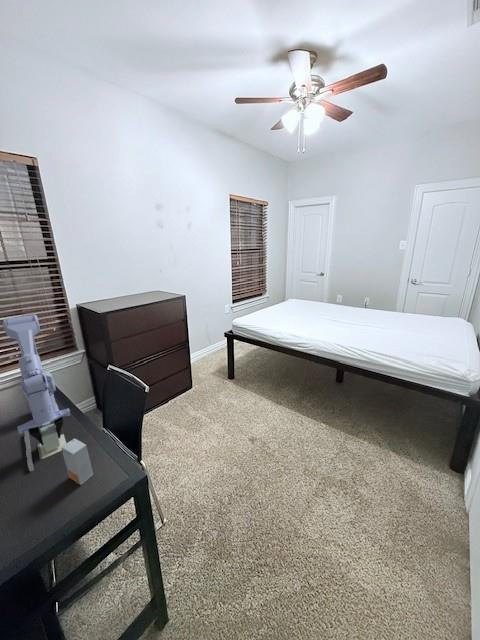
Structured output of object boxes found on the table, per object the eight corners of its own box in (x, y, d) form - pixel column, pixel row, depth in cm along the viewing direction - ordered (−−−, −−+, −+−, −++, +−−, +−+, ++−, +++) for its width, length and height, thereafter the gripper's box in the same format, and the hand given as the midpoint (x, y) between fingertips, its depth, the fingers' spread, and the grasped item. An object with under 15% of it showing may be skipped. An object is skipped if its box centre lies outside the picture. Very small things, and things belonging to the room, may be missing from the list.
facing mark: (37, 445, 95) (37, 444, 94) (63, 434, 100) (63, 433, 99) (40, 460, 88) (40, 459, 88) (67, 447, 93) (67, 447, 93)
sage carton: (45, 452, 90) (41, 438, 88) (43, 442, 94) (39, 428, 93) (60, 446, 93) (56, 432, 91) (57, 436, 97) (54, 423, 95)
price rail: (24, 435, 99) (23, 431, 99) (28, 433, 100) (27, 430, 100) (29, 472, 84) (28, 468, 83) (33, 470, 84) (32, 466, 84)
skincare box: (68, 478, 81) (60, 446, 78) (82, 467, 85) (74, 437, 81) (80, 486, 79) (72, 454, 75) (94, 475, 82) (86, 444, 79)
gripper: (14, 423, 81) (25, 457, 86) (68, 404, 90) (76, 436, 95) (13, 412, 86) (24, 445, 91) (65, 395, 96) (72, 426, 100)
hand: (50, 440), depth 93 cm, fingers closed on sage carton, 4 cm apart
